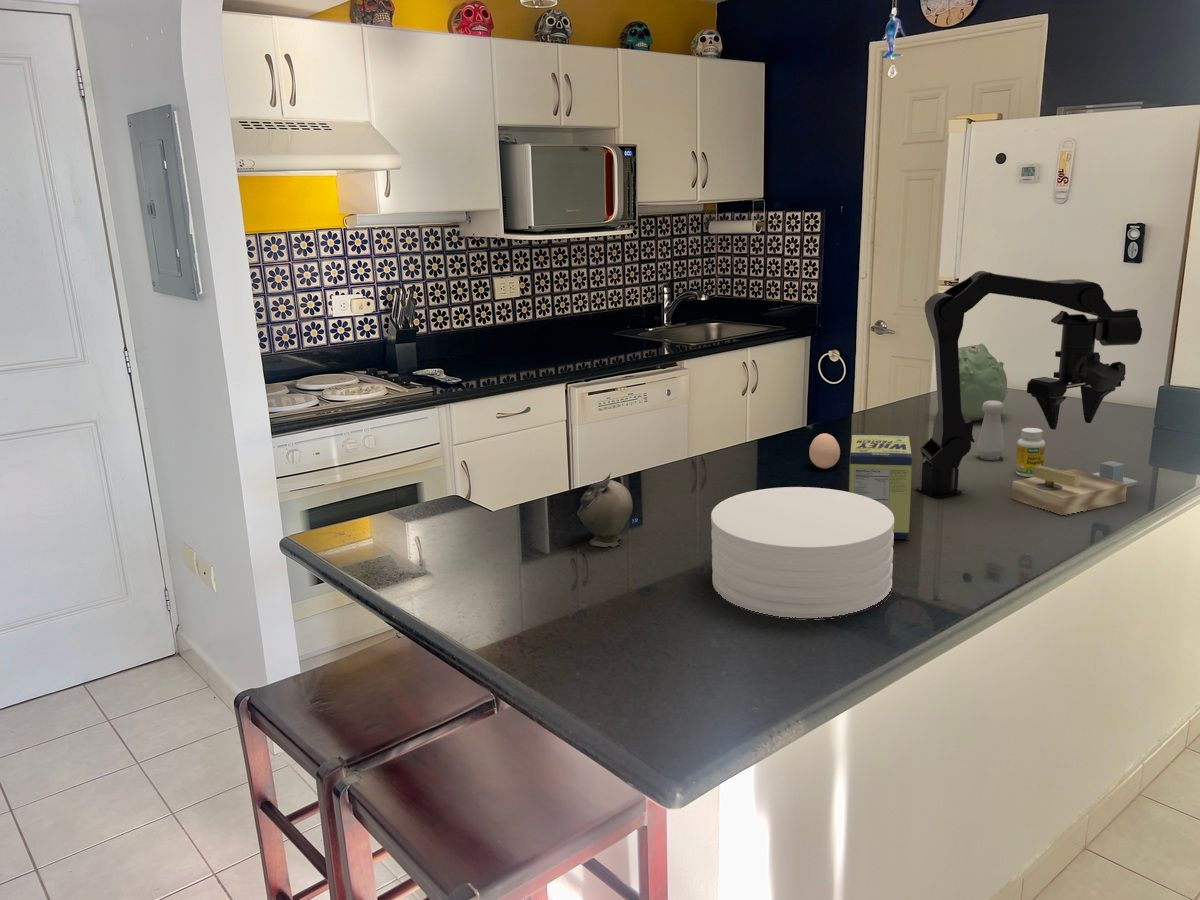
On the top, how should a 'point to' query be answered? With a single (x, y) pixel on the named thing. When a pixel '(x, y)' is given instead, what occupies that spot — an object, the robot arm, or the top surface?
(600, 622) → the top surface
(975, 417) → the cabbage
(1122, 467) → the lid
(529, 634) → the top surface
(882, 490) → the protein box
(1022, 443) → the supplement bottle
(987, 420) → the salt shaker
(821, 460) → the egg
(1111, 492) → the birch box
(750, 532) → the plate stack
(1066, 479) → the tan wooden bar
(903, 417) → the top surface
